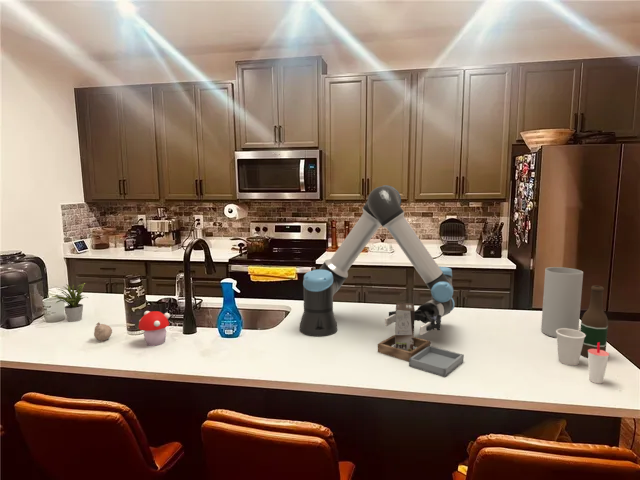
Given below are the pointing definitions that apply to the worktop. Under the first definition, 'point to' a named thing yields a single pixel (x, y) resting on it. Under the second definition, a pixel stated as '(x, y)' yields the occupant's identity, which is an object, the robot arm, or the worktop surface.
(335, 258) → the robot arm
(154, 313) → the mushroom
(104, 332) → the garlic bulb
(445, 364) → the tray
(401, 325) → the coffee box
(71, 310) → the house plant
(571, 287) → the cylinder vase
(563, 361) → the dixie cup
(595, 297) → the beer bottle
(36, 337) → the worktop surface
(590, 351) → the cup
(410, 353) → the brown square frame
